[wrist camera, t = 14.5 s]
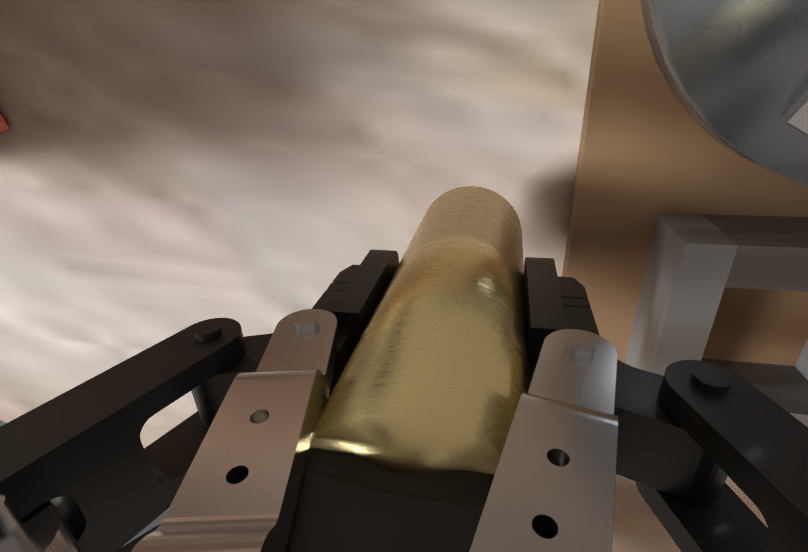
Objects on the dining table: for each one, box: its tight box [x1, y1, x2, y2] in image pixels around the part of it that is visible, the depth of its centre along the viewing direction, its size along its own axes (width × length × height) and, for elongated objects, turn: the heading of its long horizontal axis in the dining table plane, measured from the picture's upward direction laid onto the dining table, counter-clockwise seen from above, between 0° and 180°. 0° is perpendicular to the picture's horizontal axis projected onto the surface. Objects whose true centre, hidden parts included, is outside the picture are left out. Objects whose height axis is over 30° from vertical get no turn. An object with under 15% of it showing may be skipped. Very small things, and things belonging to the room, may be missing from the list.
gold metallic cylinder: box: [309, 186, 531, 475], centre depth 11 cm, size 4×4×11 cm
